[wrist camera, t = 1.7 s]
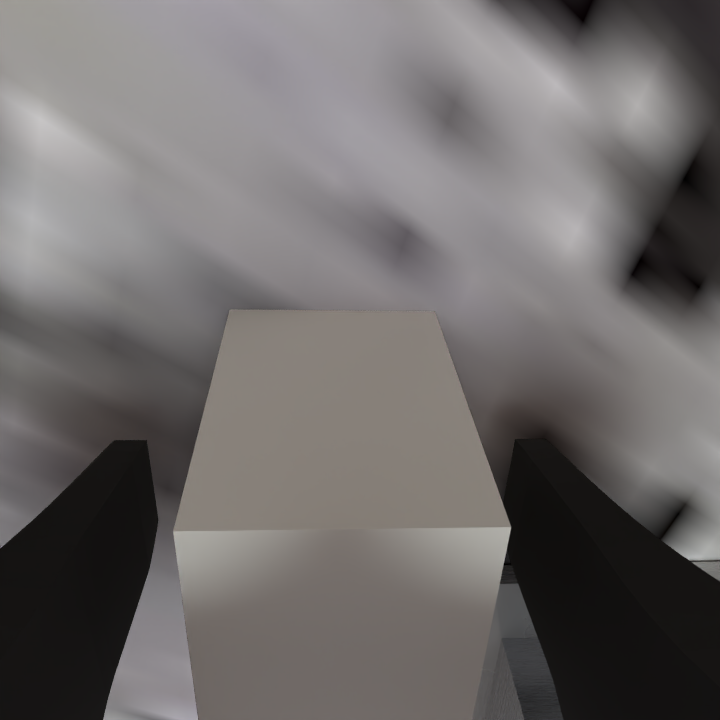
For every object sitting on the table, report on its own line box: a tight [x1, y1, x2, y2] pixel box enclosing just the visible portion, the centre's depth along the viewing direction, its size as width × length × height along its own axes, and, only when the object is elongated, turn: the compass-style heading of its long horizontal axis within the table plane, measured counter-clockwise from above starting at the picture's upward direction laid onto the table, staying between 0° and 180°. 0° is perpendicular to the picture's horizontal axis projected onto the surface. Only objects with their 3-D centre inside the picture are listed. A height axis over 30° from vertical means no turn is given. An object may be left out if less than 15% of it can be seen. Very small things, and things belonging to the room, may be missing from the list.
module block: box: [173, 309, 511, 720], centre depth 12 cm, size 4×6×6 cm, turn 178°
